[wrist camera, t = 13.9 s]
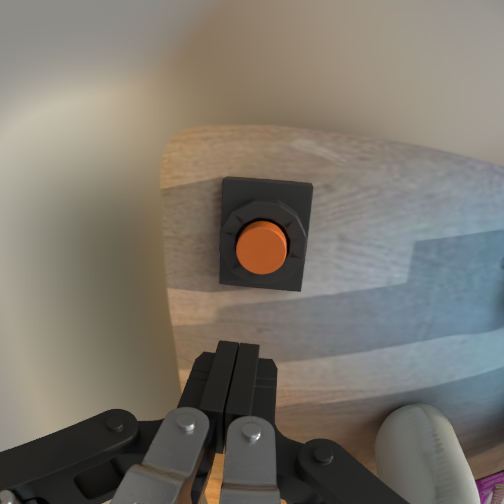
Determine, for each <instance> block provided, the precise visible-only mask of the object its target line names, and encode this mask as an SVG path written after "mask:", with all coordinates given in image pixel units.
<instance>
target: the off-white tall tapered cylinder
mask: <svg viewBox="0 0 504 504" xmlns="http://www.w3.org/2000/svg"><path fill="white" fill-rule="evenodd" d="M375 460H376V467H377V473H378V478H379V479H380V480H381V481H382V482H383V483H385V484H386V485H387V486H388V487H390V488H391V489H392V490H393V491H395V492H396V493H397V494H398V495H400V496H401V497H402V498H404V499H405V500H406V501H407V502H409V503H410V504H480V497H479V493H478V489H477V486H476V483H475V480H474V478H473V475H472V472H471V470H470V467H469V465H468V463H467V460H466V458H465V456H464V453H463V451H462V449H461V446H460V444H459V441H458V439H457V437H456V434H455V432H454V430H453V428H452V426H451V424H450V422H449V420H448V419H447V418H446V416H445V415H444V414H443V413H442V412H440V411H439V410H438V409H436V408H435V407H433V406H431V405H429V404H425V403H414V404H410V405H406V406H403V407H401V408H399V409H397V410H395V411H394V412H392V413H391V414H390V415H389V416H388V417H387V418H386V419H385V421H384V422H383V424H382V425H381V427H380V429H379V431H378V434H377V437H376V441H375Z"/></svg>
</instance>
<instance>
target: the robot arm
mask: <svg viewBox="0 0 504 504" xmlns="http://www.w3.org/2000/svg"><path fill="white" fill-rule="evenodd" d="M259 347H260V345H257V344H248V343H240V346H239V343H238V342H229V341H221V340H220V341H219V343H218V346H217V350H216V353H211V352H203V353H202V354H201V355H200V356H199V357H198V358H196V359H195V362H194V365H193V367H192V371H191V372H190V375H189V379H188V380H187V383H186V385H185V388H184V391H183V393H182V396H181V399H180V401H179V404H178V406H177V408H176V409H174V410H172V411H171V412H169V413H168V414H167V415H166V417H165V418H164V419H161V420H155V421H137V419H136V418H135V416H134V415H133V414H131V413H130V412H128V411H125V410H122V409H112V410H108V411H105V412H103V413H101V414H98V415H96V416H94V417H91V418H89V419H86V420H84V421H82V422H79V423H77V424H75V425H72V426H70V427H67V428H65V429H62V430H59V431H57V432H55V433H52V434H49V435H47V436H44V437H41V438H39V439H36V440H33V441H31V442H28V443H25V444H23V445H20V446H17V447H14V448H12V449H8V450H5V451H2V452H0V504H102V503H104V502H106V501H108V500H110V499H112V500H111V502H110V504H201V501H202V498H203V495H204V492H205V489H206V486H207V483H208V480H209V477H210V474H211V471H212V465H213V461H214V457H215V453H220V454H223V450H224V445H225V462H224V472H223V482H222V485H221V491H220V501H219V504H281V501H280V498H281V499H284V500H285V501H286V503H287V504H410V503H409V502H407V501H406V500H405V499H404V498H402V497H401V496H400V495H398V494H397V493H396V492H395V491H393V490H392V489H391V488H390V487H388V486H387V485H386V484H385V483H383V482H382V481H381V480H380V479H379V478H377V477H376V476H375V475H374V474H373V473H371V472H370V471H369V470H368V469H367V468H365V467H364V466H363V465H362V464H361V463H359V462H358V461H357V460H356V459H355V458H354V457H352V456H351V455H350V454H349V453H348V452H347V451H346V450H344V449H343V448H342V447H341V446H340V445H339V444H337V443H336V442H334V441H331V440H328V439H313V440H310V441H308V442H306V443H305V444H303V443H300V442H296V441H293V440H291V439H288V438H287V437H285V436H283V435H282V434H281V433H280V432H279V431H278V429H277V428H276V425H275V405H276V388H277V367H276V365H275V363H274V361H273V360H272V359H263V358H259Z"/></svg>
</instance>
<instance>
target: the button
mask: <svg viewBox="0 0 504 504" xmlns="http://www.w3.org/2000/svg"><path fill="white" fill-rule="evenodd" d="M236 255H237V258H238V260H239V262H240V264H241V265H242V266H243V267H244V268H245V269H247V270H248V271H250V272H252V273H255V274H268V273H272V272H274V271H275V270H277V269H278V268H279V267H280V266H281V265H282V264H283V262H284V260H285V258H286V238H285V235H284V233H283V232H282V230H281V229H280V228H279V227H278V226H276V225H275V224H273V223H271V222H267V221H258V222H254V223H251V224H250V225H248V226H247V227H246V228H245V229H244V230H243V231H242V233H241V235H240V237H239V240H238V242H237V245H236Z"/></svg>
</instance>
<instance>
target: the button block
mask: <svg viewBox="0 0 504 504" xmlns="http://www.w3.org/2000/svg"><path fill="white" fill-rule="evenodd" d="M312 194H313V185H312V184H311V183H303V182H293V181H281V180H270V179H257V178H242V177H225V178H224V179H223V189H222V214H221V230H220V249H219V251H220V284H225V285H234V286H244V287H255V288H265V289H276V290H287V291H299V292H301V286H302V279H303V271H304V264H305V256H306V248H307V240H308V231H309V222H310V213H311V204H312ZM258 221H267V222H271V223H273V224H275V225H276V226H278V227H279V228H280V229H281V230H282V232H283V233H284V235H285V238H286V258H285V260H284V262H283V264H282V265H281V266H280V267H279V268H278V269H277V270H275V271H274V272H272V273H268V274H255V273H252V272H250V271H248V270H247V269H245V268H244V267H243V266H242V265H241V264H240V262H239V260H238V258H237V255H236V245H237V242H238V240H239V237H240V235H241V233H242V231H243V230H244V229H245V228H246V227H247V226H248V225H250V224H251V223H254V222H258Z"/></svg>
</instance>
